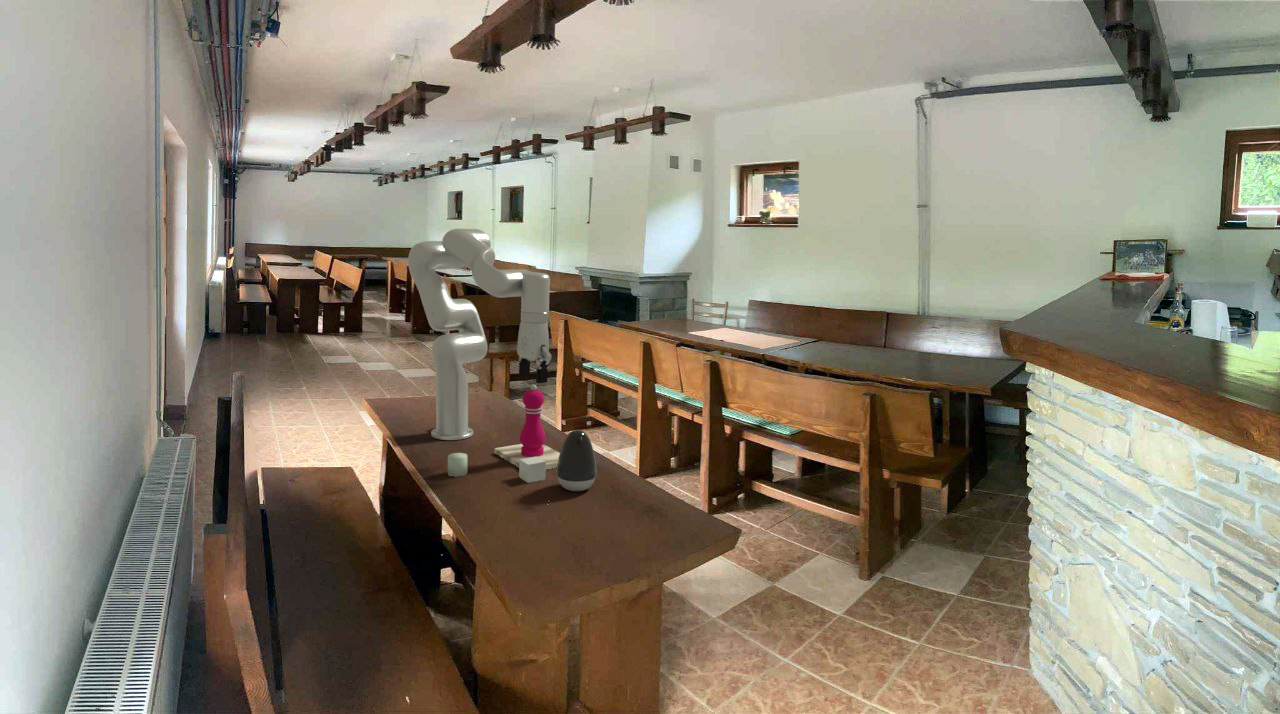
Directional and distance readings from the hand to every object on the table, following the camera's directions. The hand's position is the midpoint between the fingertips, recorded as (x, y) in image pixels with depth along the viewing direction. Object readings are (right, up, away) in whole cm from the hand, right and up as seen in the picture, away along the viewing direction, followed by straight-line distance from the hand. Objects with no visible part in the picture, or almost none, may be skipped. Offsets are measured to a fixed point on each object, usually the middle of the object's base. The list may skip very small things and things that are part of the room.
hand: (532, 378), depth 205 cm
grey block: (+2, -26, -12) cm, 28 cm away
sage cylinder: (-18, -25, -11) cm, 33 cm away
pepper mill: (-1, -21, +4) cm, 22 cm away
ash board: (0, -23, +4) cm, 23 cm away
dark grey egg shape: (+14, -27, -18) cm, 35 cm away
